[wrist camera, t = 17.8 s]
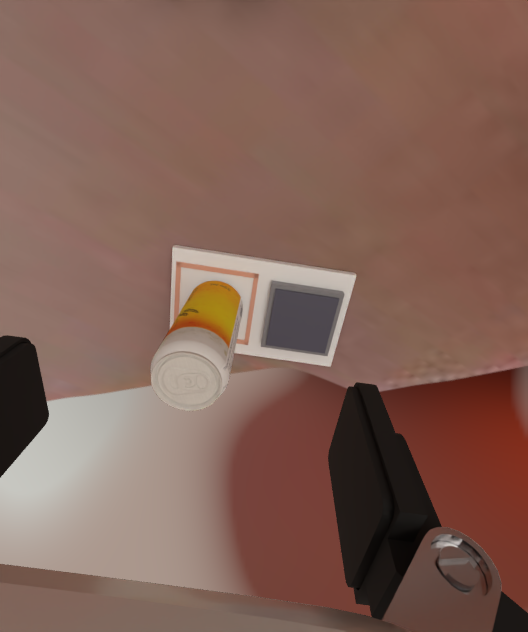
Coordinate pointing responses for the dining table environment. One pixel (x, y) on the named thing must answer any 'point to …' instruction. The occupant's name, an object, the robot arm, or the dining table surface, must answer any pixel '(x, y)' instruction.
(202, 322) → the beer can
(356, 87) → the dining table surface
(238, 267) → the stamping board
